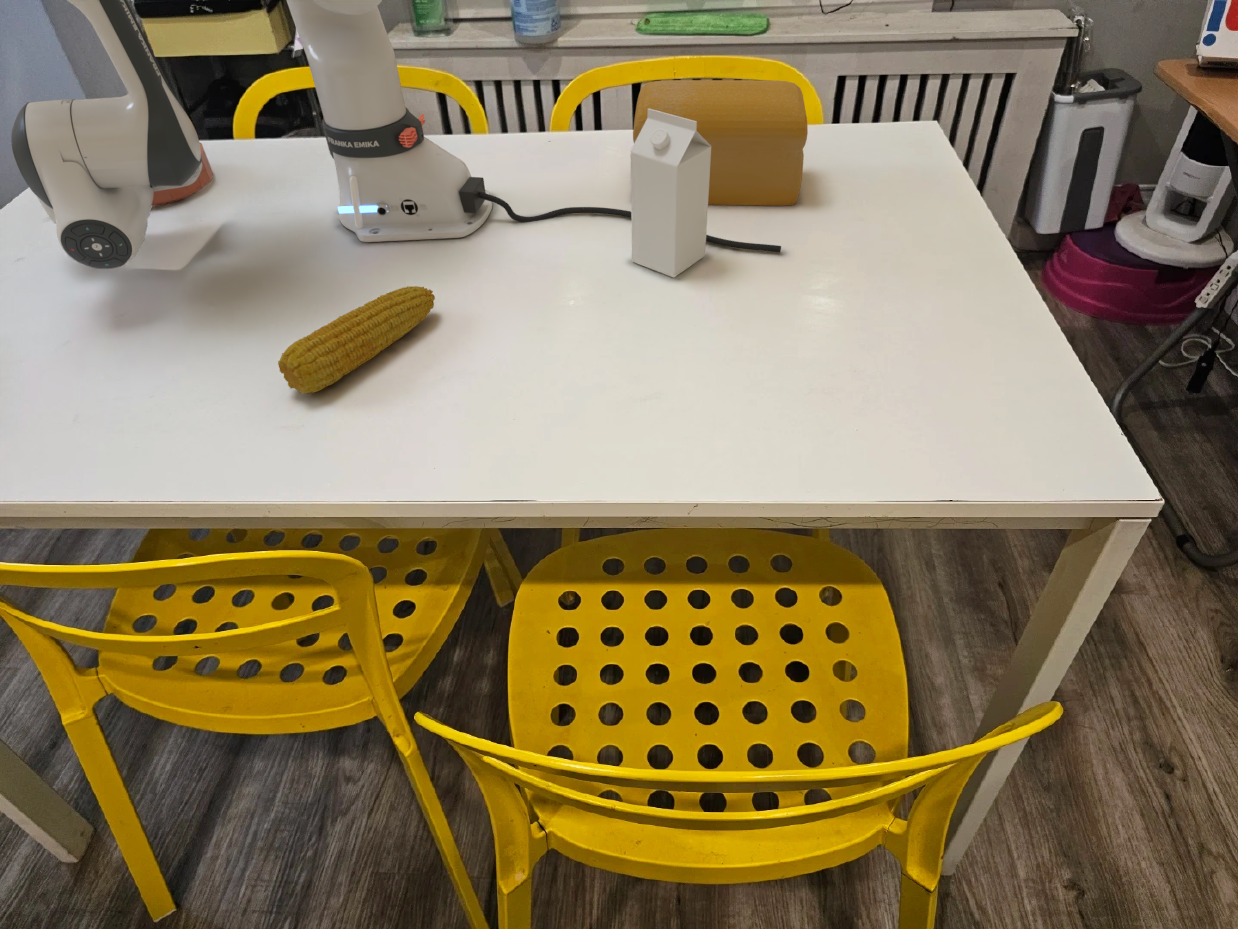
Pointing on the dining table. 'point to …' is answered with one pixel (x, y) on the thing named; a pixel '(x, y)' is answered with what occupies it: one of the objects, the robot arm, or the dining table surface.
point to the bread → (739, 134)
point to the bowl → (185, 191)
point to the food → (353, 338)
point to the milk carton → (669, 193)
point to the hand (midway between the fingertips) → (125, 150)
